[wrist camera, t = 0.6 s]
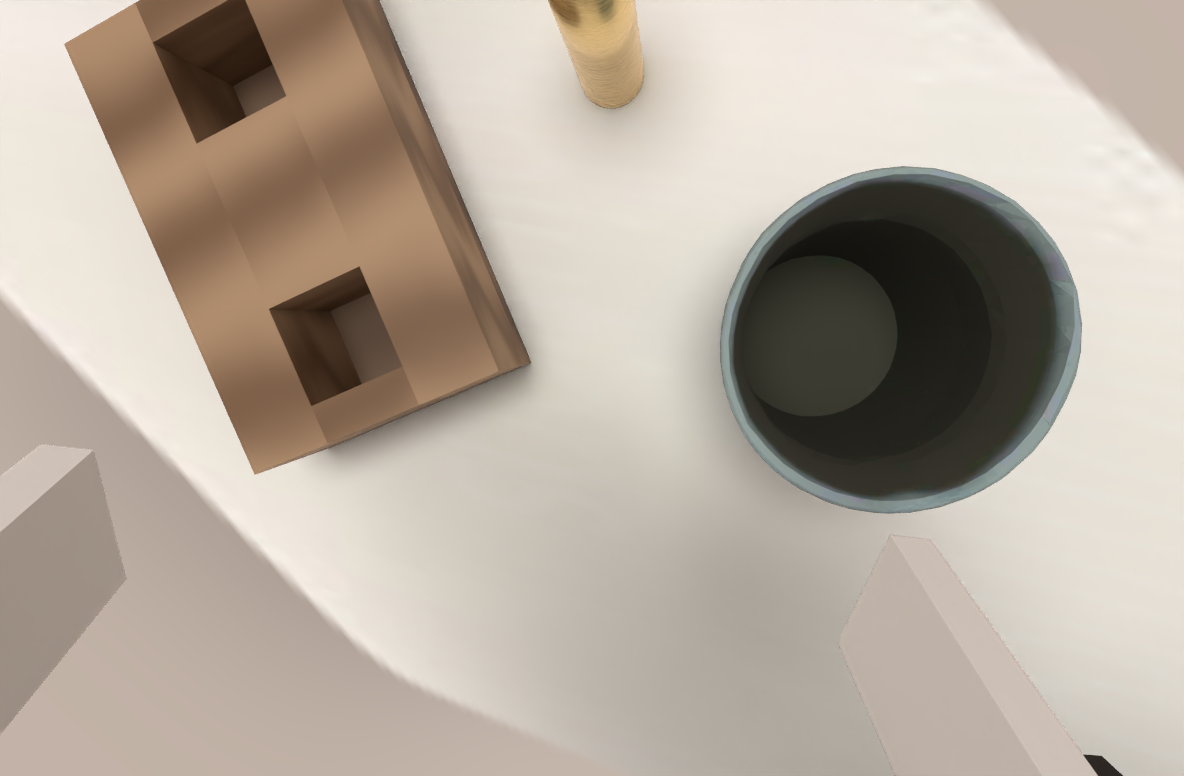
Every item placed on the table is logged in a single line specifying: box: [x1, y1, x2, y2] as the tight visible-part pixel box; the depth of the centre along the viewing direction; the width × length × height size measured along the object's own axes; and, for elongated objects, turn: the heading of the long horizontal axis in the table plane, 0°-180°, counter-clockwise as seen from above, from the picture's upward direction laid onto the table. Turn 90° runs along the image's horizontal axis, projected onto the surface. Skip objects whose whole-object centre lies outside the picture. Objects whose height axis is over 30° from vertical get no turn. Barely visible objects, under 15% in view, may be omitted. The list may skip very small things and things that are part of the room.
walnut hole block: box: [64, 0, 531, 474], centre depth 30 cm, size 20×12×6 cm, turn 23°
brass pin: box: [548, 0, 644, 108], centre depth 24 cm, size 3×3×14 cm
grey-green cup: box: [720, 166, 1082, 513], centre depth 25 cm, size 10×10×12 cm
